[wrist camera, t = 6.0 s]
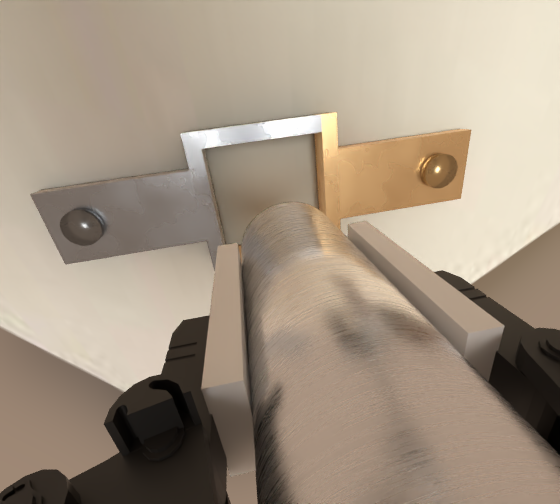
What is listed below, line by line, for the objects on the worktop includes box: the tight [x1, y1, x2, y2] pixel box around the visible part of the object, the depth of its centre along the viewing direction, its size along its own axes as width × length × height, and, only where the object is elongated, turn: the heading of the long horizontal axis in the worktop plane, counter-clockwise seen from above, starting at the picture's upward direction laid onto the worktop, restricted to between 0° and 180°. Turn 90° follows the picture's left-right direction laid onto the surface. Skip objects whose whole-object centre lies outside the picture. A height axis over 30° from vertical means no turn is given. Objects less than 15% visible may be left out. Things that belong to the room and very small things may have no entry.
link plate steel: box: [30, 115, 322, 271], centre depth 20 cm, size 10×19×2 cm, turn 97°
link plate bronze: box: [238, 112, 471, 263], centre depth 21 cm, size 10×19×2 cm, turn 97°
